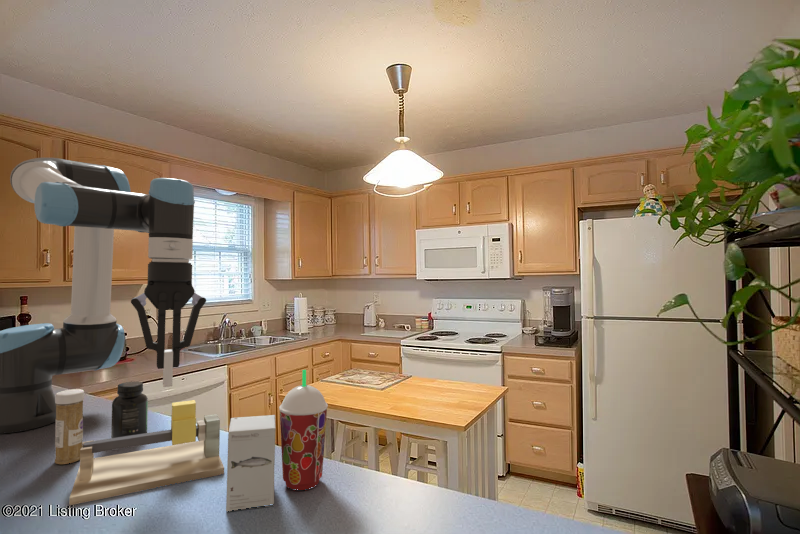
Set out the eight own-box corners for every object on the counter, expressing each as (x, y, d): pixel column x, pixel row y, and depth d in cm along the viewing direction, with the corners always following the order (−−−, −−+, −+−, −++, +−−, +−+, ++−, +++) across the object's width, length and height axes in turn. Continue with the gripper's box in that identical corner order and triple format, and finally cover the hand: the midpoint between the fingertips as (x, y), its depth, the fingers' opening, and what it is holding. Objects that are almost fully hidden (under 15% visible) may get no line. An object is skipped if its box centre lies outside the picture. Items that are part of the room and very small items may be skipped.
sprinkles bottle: (82, 462, 86) (83, 392, 86) (52, 467, 84) (54, 395, 84) (83, 453, 90) (84, 387, 90) (55, 458, 88) (56, 390, 88)
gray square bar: (84, 451, 79) (84, 442, 79) (212, 431, 89) (212, 423, 89) (83, 454, 77) (83, 445, 77) (213, 434, 88) (213, 425, 88)
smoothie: (336, 480, 80) (337, 368, 80) (304, 500, 73) (305, 377, 73) (301, 469, 84) (303, 363, 85) (267, 487, 77) (269, 371, 77)
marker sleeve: (170, 437, 87) (171, 401, 87) (193, 434, 89) (194, 398, 89) (172, 445, 83) (172, 407, 83) (195, 441, 85) (196, 404, 85)
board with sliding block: (81, 466, 84) (82, 423, 84) (212, 444, 96) (212, 406, 96) (69, 505, 70) (70, 453, 71) (224, 474, 82) (224, 429, 82)
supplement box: (224, 513, 69) (226, 431, 69) (229, 491, 76) (230, 416, 76) (274, 507, 71) (275, 427, 71) (274, 485, 78) (275, 413, 78)
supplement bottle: (153, 433, 102) (154, 380, 102) (133, 444, 95) (134, 388, 95) (126, 431, 103) (127, 379, 103) (103, 443, 96) (104, 387, 96)
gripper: (130, 260, 78) (126, 394, 78) (210, 262, 85) (207, 385, 85) (131, 260, 85) (128, 384, 85) (205, 262, 91) (202, 377, 91)
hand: (167, 384), depth 85 cm, fingers closed
